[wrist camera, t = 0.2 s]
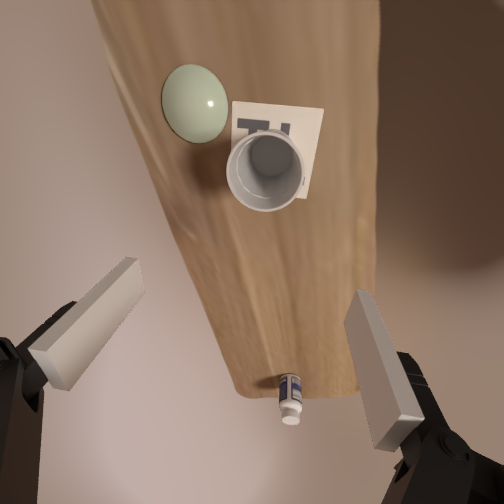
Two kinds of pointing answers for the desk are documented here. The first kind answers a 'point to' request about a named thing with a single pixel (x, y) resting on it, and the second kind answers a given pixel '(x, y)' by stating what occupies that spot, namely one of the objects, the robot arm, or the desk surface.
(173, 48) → the desk surface
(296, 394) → the pill bottle
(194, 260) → the desk surface
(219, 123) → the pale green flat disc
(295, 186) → the cup
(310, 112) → the tile
